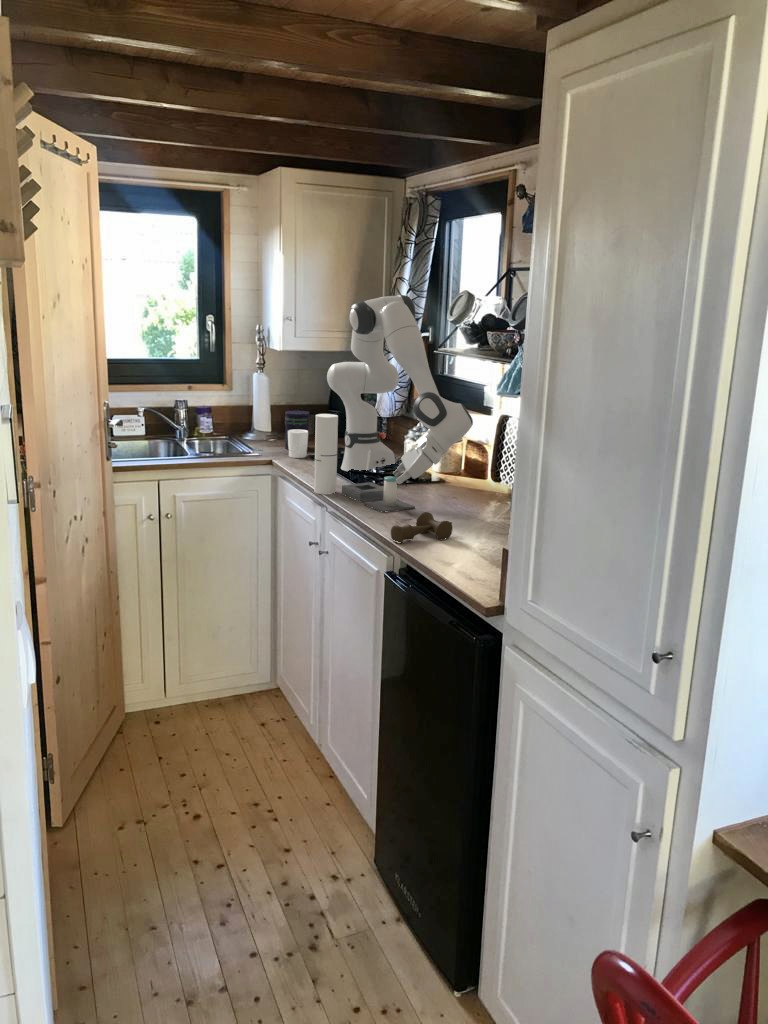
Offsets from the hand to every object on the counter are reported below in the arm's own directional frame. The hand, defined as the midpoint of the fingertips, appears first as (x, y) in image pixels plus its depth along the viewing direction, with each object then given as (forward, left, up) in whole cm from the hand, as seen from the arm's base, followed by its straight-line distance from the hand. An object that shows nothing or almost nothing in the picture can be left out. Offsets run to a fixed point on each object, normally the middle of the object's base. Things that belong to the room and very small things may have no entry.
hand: (395, 478), depth 257 cm
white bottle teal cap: (+1, -1, -8) cm, 8 cm away
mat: (+1, -1, -9) cm, 9 cm away
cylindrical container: (+10, -26, -9) cm, 29 cm away
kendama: (+11, +31, -9) cm, 34 cm away
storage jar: (-16, -94, -9) cm, 95 cm away
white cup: (-9, -80, -9) cm, 81 cm away
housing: (+1, -15, -9) cm, 17 cm away
